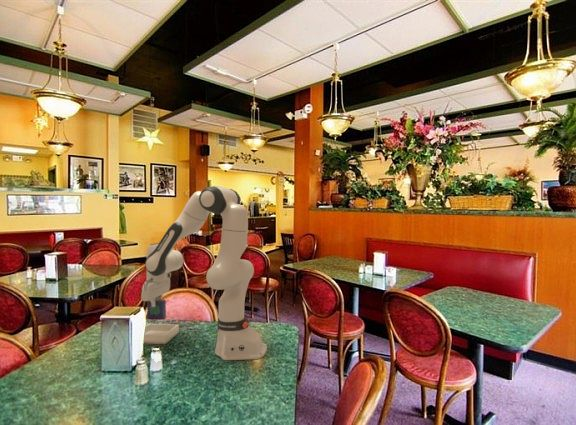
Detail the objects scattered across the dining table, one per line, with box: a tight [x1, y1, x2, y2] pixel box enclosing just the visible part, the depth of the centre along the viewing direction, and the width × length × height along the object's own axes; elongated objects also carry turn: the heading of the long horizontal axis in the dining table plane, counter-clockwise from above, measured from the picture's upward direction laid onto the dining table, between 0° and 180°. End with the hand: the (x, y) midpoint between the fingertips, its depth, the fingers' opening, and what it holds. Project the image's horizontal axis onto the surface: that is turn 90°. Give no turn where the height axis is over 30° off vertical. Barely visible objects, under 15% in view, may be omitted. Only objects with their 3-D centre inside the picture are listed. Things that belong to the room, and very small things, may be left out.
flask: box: [146, 297, 167, 321], centre depth 152 cm, size 9×3×11 cm, turn 83°
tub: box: [143, 323, 180, 345], centre depth 152 cm, size 16×14×4 cm
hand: (156, 305), depth 152 cm, fingers closed on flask, 3 cm apart
